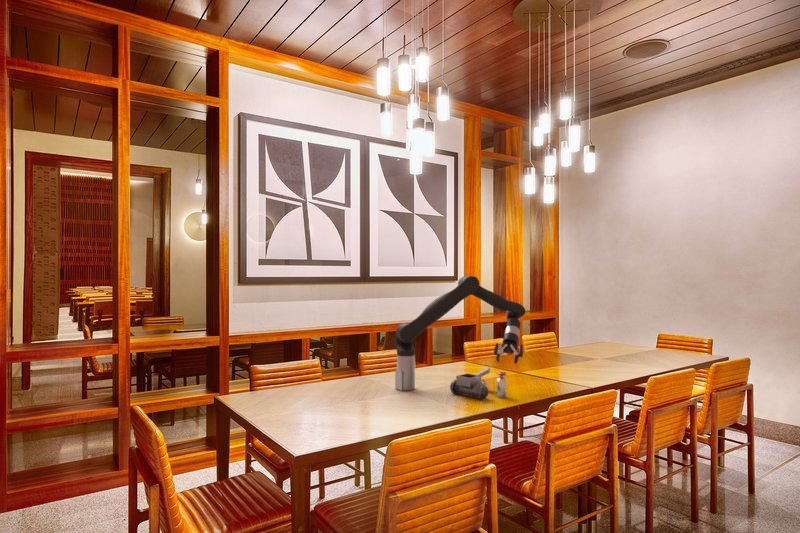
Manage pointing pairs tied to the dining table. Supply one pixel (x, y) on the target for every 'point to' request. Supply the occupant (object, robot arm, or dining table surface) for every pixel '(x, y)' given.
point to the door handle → (483, 375)
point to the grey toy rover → (469, 386)
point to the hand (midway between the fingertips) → (506, 362)
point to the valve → (501, 385)
